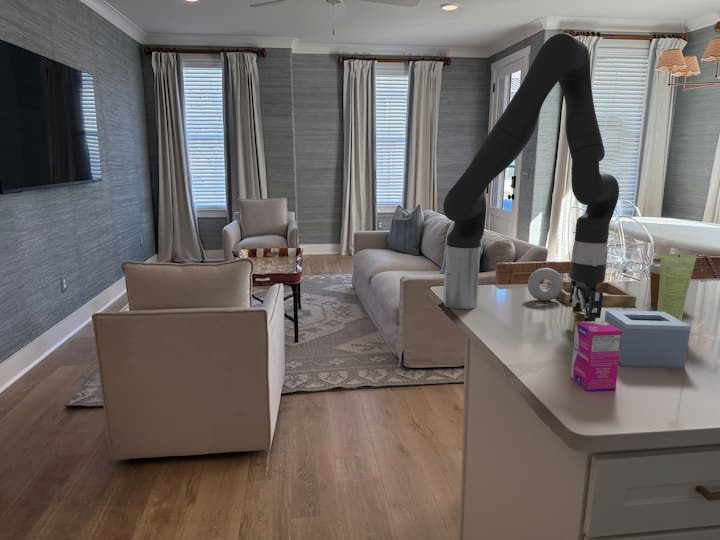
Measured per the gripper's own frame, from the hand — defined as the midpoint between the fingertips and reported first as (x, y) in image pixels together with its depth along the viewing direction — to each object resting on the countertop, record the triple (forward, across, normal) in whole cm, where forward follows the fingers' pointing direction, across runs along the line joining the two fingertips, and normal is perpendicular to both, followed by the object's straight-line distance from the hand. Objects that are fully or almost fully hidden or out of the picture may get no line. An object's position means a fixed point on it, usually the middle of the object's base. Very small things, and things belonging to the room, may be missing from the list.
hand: (581, 327), depth 123 cm
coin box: (+1, +17, +6) cm, 18 cm away
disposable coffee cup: (+1, -26, +32) cm, 41 cm away
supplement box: (+1, +31, -9) cm, 32 cm away
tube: (+1, 0, +20) cm, 20 cm away
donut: (+1, -29, -1) cm, 29 cm away
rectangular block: (+1, 0, 0) cm, 1 cm away
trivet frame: (+1, -34, +14) cm, 37 cm away
